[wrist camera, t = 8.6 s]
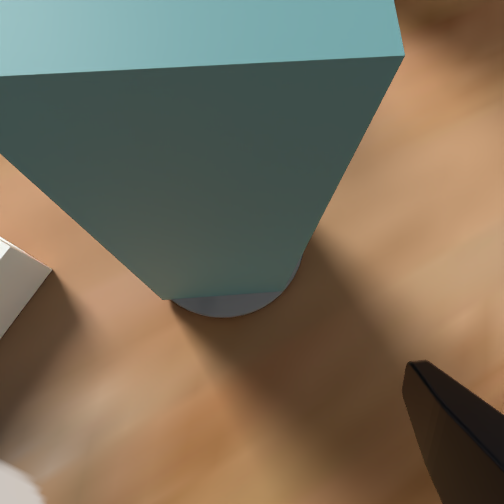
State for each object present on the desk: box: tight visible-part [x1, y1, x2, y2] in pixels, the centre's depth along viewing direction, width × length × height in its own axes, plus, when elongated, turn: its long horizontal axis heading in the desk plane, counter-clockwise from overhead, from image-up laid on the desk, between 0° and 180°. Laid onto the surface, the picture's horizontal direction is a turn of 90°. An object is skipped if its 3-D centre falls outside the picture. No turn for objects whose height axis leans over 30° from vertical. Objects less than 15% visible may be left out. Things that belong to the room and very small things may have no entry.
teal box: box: [0, 0, 405, 300], centre depth 12 cm, size 5×5×14 cm
